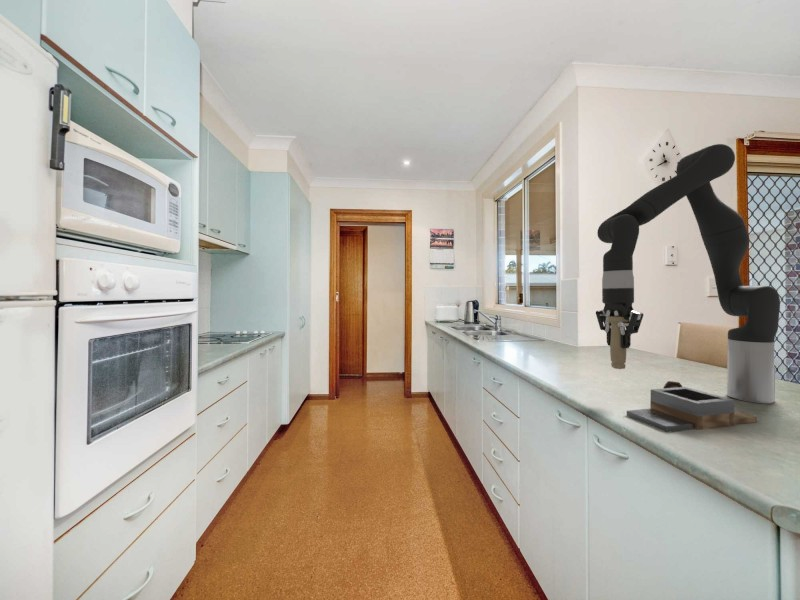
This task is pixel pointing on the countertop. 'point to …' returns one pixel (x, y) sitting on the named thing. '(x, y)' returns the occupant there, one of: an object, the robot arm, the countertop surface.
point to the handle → (617, 343)
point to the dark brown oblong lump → (672, 384)
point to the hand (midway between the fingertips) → (618, 346)
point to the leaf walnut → (707, 417)
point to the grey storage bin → (681, 407)
